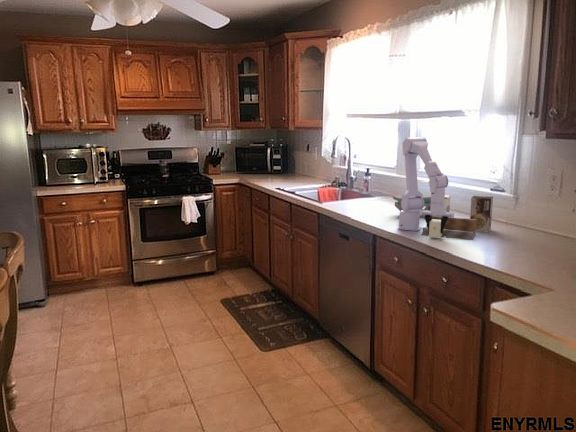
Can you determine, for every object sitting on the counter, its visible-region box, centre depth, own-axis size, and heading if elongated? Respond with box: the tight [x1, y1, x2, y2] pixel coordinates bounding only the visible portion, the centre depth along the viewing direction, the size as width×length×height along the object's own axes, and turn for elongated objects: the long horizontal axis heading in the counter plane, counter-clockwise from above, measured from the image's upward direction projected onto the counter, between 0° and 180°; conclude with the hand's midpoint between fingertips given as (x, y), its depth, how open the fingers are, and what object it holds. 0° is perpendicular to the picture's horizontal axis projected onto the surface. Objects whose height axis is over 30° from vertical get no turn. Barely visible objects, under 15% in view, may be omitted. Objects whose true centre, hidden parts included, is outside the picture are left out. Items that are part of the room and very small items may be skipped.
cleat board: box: [421, 216, 477, 241], centre depth 218 cm, size 22×12×7 cm, turn 62°
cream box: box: [428, 219, 442, 239], centre depth 211 cm, size 5×7×7 cm
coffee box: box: [469, 195, 494, 233], centre depth 225 cm, size 9×6×16 cm
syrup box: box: [444, 194, 452, 213], centre depth 240 cm, size 6×6×14 cm
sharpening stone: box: [392, 194, 431, 218], centre depth 260 cm, size 25×8×11 cm, turn 98°
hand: (435, 232), depth 211 cm, fingers closed on cream box, 5 cm apart
